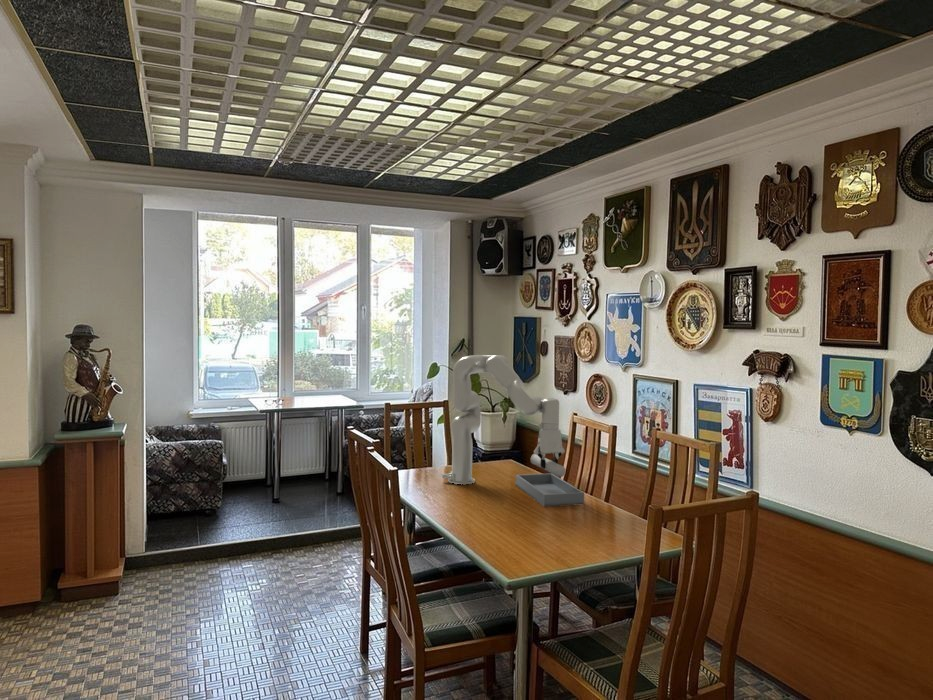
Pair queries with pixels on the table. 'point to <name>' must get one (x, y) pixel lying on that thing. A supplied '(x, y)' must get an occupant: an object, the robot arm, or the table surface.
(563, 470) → the tube
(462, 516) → the table surface
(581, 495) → the bin
